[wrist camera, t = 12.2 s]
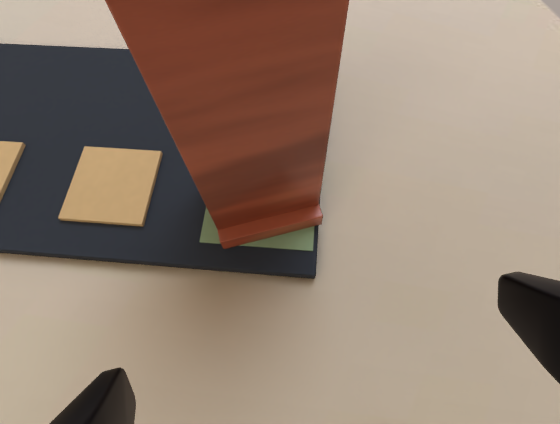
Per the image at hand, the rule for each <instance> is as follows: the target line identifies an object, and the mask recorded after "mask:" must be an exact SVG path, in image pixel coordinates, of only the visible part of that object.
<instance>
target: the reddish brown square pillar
mask: <svg viewBox="0 0 560 424" xmlns="http://www.w3.org/2000/svg"><path fill="white" fill-rule="evenodd" d="M105 1H106V3H107V5H108V7H109V9H110V11H111V14H112V16H113V18H114V20H115V22H116V24H117V26H118V28H119V30H120V32H121V34H122V36H123V38H124V40H125V42H126V44H127V46H128V48H129V50H130V52H131V54H132V56H133V58H134V60H135V62H136V65H137V67H138V69H139V71H140V73H141V75H142V77H143V79H144V81H145V83H146V85H147V87H148V89H149V91H150V93H151V95H152V97H153V99H154V101H155V103H156V105H157V107H158V109H159V111H160V113H161V116H162V118H163V120H164V122H165V124H166V126H167V128H168V130H169V132H170V134H171V136H172V138H173V140H174V142H175V144H176V146H177V148H178V150H179V152H180V154H181V156H182V158H183V160H184V162H185V165H186V167H187V169H188V171H189V173H190V175H191V177H192V179H193V181H194V183H195V185H196V187H197V189H198V191H199V193H200V195H201V197H202V199H203V201H204V203H205V205H206V207H207V209H208V211H209V213H210V216H211V218H212V220H213V222H214V224H215V226H216V228H217V230H218V235H219V240H220V243H221V245H222V247H223V249H227V248H231V247H234V246H238V245H242V244H246V243H250V242H254V241H258V240H262V239H266V238H270V237H274V236H277V235H281V234H285V233H289V232H293V231H297V230H301V229H305V228H309V227H313V226H316V225H320V224H322V218H323V215H322V212H321V209H320V206H319V199H320V192H321V186H322V179H323V172H324V166H325V159H326V152H327V145H328V139H329V132H330V125H331V119H332V112H333V105H334V99H335V92H336V85H337V78H338V72H339V65H340V58H341V52H342V45H343V38H344V32H345V25H346V18H347V11H348V5H349V0H105Z"/></svg>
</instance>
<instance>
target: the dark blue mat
mask: <svg viewBox="0 0 560 424" xmlns="http://www.w3.org/2000/svg"><path fill="white" fill-rule="evenodd" d="M319 204H320V199H319ZM317 242H318V225H316V226H313V227H309V228H305V229H301V230H297V231H293V232H289V233H285V234H281V235H277V236H274V237H270V238H266V239H262V240H258V241H254V242H250V243H246V244H242V245H238V246H234V247H231V248H227V249H223V247H222V245H221V243H220V240H219V235H218V230H217V228H216V226H215V224H214V222H213V220H212V218H211V216H210V213H209V211H208V209H207V207H206V205H205V203H204V201H203V199H202V197H201V195H200V193H199V191H198V189H197V187H196V185H195V183H194V181H193V179H192V177H191V175H190V173H189V171H188V169H187V167H186V165H185V162H184V160H183V158H182V156H181V154H180V152H179V150H178V148H177V146H176V144H175V142H174V140H173V138H172V136H171V134H170V132H169V130H168V128H167V126H166V124H165V122H164V120H163V118H162V116H161V113H160V111H159V109H158V107H157V105H156V103H155V101H154V99H153V97H152V95H151V93H150V91H149V89H148V87H147V85H146V83H145V81H144V79H143V77H142V75H141V73H140V71H139V69H138V67H137V65H136V62H135V60H134V58H133V56H132V54H131V52H130V50H129V49H110V48H88V47H65V46H42V45H20V44H0V253H11V254H23V255H35V256H47V257H59V258H71V259H84V260H96V261H108V262H120V263H132V264H144V265H156V266H168V267H180V268H192V269H204V270H217V271H229V272H241V273H253V274H265V275H277V276H289V277H301V278H313V279H314V278H315V276H316V260H317Z"/></svg>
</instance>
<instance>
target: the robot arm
mask: <svg viewBox="0 0 560 424" xmlns="http://www.w3.org/2000/svg"><path fill="white" fill-rule="evenodd" d="M498 308H499V311H500V313H501V314H502V316H503V317H504V318H505V320H506V321H507V322H508V323H509V325H510V326H511V327H512V328H513V329H514V331H515V332H516V333H517V334H518V336H519V337H520V338H521V339H522V341H523V342H524V343H525V344H526V346H527V347H528V348H529V349H530V351H531V352H532V353H533V354H534V356H535V357H536V358H537V359H538V361H539V362H540V363H541V364H542V365H543V367H544V368H545V369H546V370H547V371H548V372H549V373H550V374H551V375H552V376H553V377H554V379H555V380H556V381H557V382H558V383H559V384H560V281H557V280H553V279H548V278H544V277H540V276H535V275H531V274H526V273H522V272H513V273H509V274H504V275H502V276H501V277H500V278H499V281H498ZM135 409H136V400H135V395H134V393H133V390H132V387H131V385H130V382H129V380H128V377H127V375H126V372H125V371H124V369H122V368H116V369H111V370H107V371H104V372H102V373H101V374H100V375H99V376H98V377H97V378H96V379H95V380H94V381H93V382H92V383H91V384H90V385H88V386H87V387H86V388H85V389H84V390H83V391H82V392H81V393H80V394H79V395H78V396H77V397H76V398H75V399H74V400H73V401H72V402H71V403H70V404H69V405H68V406H67V407H66V408H65V409H64V410H63V411H62V412H61V413H60V414H59V415H58V416H57V417H56V418H55V419H54V420H53V421H52V422H51V423H50V424H134V419H135Z"/></svg>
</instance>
